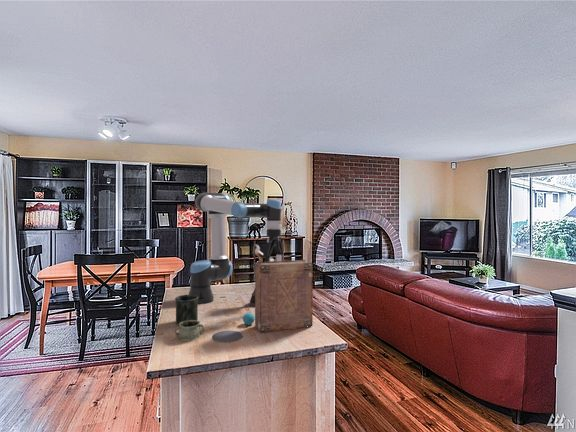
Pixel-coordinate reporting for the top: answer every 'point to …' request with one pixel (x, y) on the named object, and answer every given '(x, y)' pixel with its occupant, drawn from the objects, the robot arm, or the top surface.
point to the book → (283, 295)
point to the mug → (186, 308)
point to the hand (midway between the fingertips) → (273, 268)
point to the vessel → (189, 330)
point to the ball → (248, 318)
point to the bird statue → (260, 255)
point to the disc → (227, 336)
